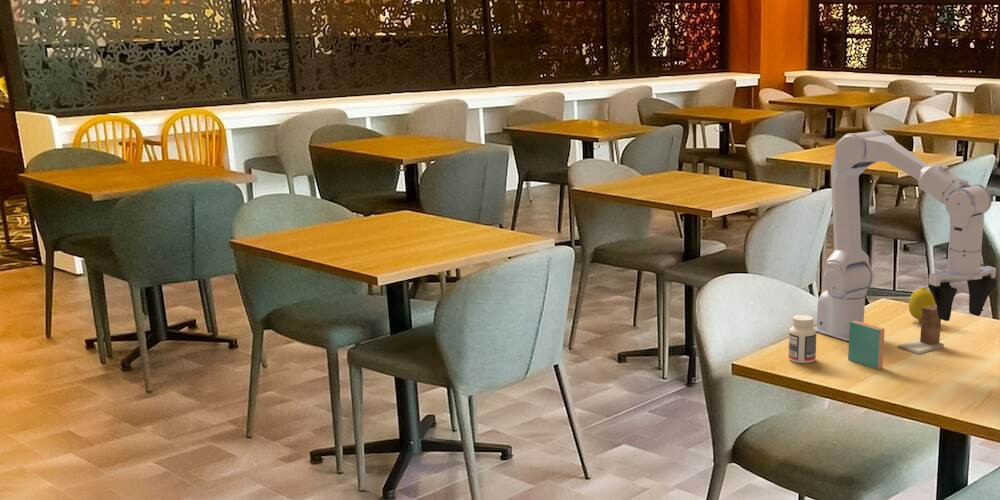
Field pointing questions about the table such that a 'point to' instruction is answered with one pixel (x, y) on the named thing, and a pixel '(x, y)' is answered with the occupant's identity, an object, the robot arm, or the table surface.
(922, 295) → the lemon
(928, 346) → the brown grey l-shaped block
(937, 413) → the table surface
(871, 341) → the tile
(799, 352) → the pill bottle
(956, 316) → the table surface
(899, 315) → the table surface
